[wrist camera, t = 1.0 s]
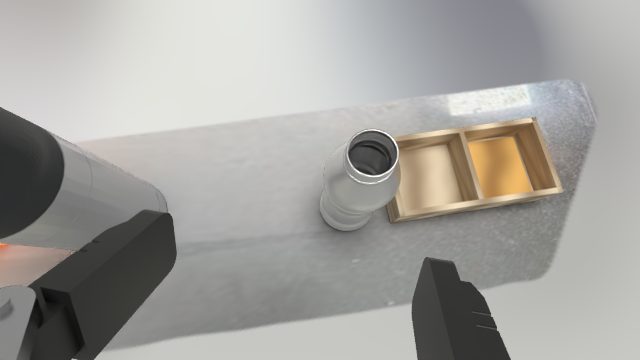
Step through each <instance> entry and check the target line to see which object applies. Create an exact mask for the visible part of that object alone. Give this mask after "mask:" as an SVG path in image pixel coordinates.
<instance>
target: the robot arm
mask: <svg viewBox="0 0 640 360" xmlns="http://www.w3.org/2000/svg"><path fill="white" fill-rule="evenodd" d="M0 244H10V245H24V246H36V247H47V248H59V249H71V250H79V252H78V251H76V252H75V253H73V254H72V255H70V256H69V257H68V258H66V259H65V260H64V261H62V262H61V263H59V264H58V265H57V266H55V267H54V268H52V269H51V270H50V271H48V272H47V273H45V274H44V275H43V276H41V277H40V278H39V279H37V280H36V281H34V282H33V283H32V284H30V285H29V286H27V287H26V286H9V287H3V288H0V360H71V359H72V358H73V359H77V360H94V359H95V358H96V356H97V355H98V354H99V353H100V352H101V351H102V350H103V348H104V347H105V346H106V345H107V344H108V343H109V342H110V340H111V339H112V338H113V337H114V336H115V335H116V333H117V332H118V331H119V330H120V329H121V328H122V327H123V325H124V324H125V323H126V322H127V321H128V320H129V318H130V317H131V316H132V315H133V314H134V313H135V312H136V310H137V309H138V308H139V307H140V306H141V305H142V303H143V302H144V301H145V300H146V299H147V298H148V297H149V295H150V294H151V293H152V292H153V291H154V290H155V288H156V287H157V286H158V285H159V284H160V283H161V282H162V280H163V279H164V278H165V277H166V276H167V275H168V273H169V272H170V271H171V270H172V268H173V266H174V263H175V260H176V254H177V252H176V243H175V235H174V226H173V219H172V216H171V215H170V214H169V213H167V206H166V202H165V200H164V197H163V196H162V194H161V193H160V191H159V190H157V189H156V188H155V187H154V186H152V185H150V184H148V183H146V182H144V181H142V180H141V179H139V178H137V177H135V176H133V175H131V174H130V173H128V172H126V171H124V170H122V169H120V168H118V167H116V166H114V165H112V164H110V163H109V162H107V161H105V160H103V159H101V158H99V157H97V156H95V155H93V154H91V153H89V152H88V151H86V150H84V149H82V148H80V147H78V146H76V145H74V144H72V143H70V142H68V141H66V140H64V139H62V138H60V137H59V136H57V135H55V134H53V133H51V132H49V131H47V130H45V129H43V128H41V127H39V126H37V125H35V124H33V123H31V122H29V121H27V120H25V119H23V118H21V117H19V116H17V115H15V114H13V113H11V112H9V111H7V110H5V109H3V108H1V107H0ZM412 321H413V328H414V336H415V342H416V350H417V357H418V360H511V359H510V357H509V355H508V352H507V350H506V347H505V345H504V343H503V340H502V338H501V336H500V333H499V331H497V326H496V324H495V322H494V319H493V317H491V313H490V310H489V308H488V305H487V303H486V301H485V298H484V297H483V296H482V295H481V293H480V292H479V291H478V290H477V289H476V288H475V287H474V286H473V285H472V283H470V282H465V281H460V278H459V275H458V272H457V269H456V267H455V264H454V263H453V262H452V261H447V260H441V259H435V258H429V257H426V258H425V259H424V261H423V265H422V268H421V272H420V275H419V278H418V282H417V285H416V289H415V292H414V296H413V301H412Z"/></svg>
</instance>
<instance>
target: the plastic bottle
mask: <svg viewBox="0 0 640 360" xmlns="http://www.w3.org/2000/svg"><path fill="white" fill-rule="evenodd" d="M398 159H399V148H398V145H397V143H396V141H395V140H394V139H393V137H392V136H391V135H389V134H388V133H386V132H384V131H382V130H378V129H366V130H363V131H360V132H358V133H357V134H355V135H354V136H353V137H352V138H351V139H350V141H348V142H346V143H344V144H342V145H341V146H340V147H338V148H337V149H336V150H335V151H334V152H333V153H332V154H331V155H330V157H329V158H328V160H327V162H326V165H325V168H324V184H325V190H324V191H323V193H322V195H321V198H320V204H319V205H320V212H321V215H322V217H323V218H324V220H325V221H326V222H327V223H328V224H329V225H330V226H331V227H333V228H335V229H338V230H341V231H353V230H356V229H359V228H361V227H363V226H364V225H365V224H366V223H367V222H368V221H369V220H370V219H371V217H372V215H373V212H374V211H375V210H378V209H379V208H381V207H383V206H385V205H386V204H387V203H389V202H390V201H391V200H392V199H393V197H394V196H395V195H396V193H397V191H398V189H399V186H400V182H401V169H400V164H399V161H398Z"/></svg>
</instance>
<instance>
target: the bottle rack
mask: <svg viewBox="0 0 640 360" xmlns="http://www.w3.org/2000/svg"><path fill="white" fill-rule="evenodd" d="M393 139H394V140H395V141H396V143H397V145H398V148H399V159H398V161H399V164H400V169H401V182H400V186H399V189H398V191H397V193H396V195H395V196H394V197H393V199H392V200H391V201H390V202H389V203H387V204H386V207H387V211H388V216H389V220H390V223H396V222H402V221H408V220H415V219H421V218H428V217H434V216H441V215H447V214H453V213H460V212H466V211H473V210H479V209H486V208H492V207H498V206H505V205H511V204H518V203H524V202H530V201H536V200H539V199H542V198H545V197H548V196H552V195H555V194H558V193H561V192H564V191H563V189H562V186H561V183H560V181H559V178H558V175H557V173H556V170H555V167H554V165H553V162H552V159H551V157H550V154H549V151H548V149H547V146H546V143H545V141H544V138H543V135H542V133H541V130H540V127H539V125H538V122H537V119H536V117H533V118H526V119H519V120H512V121H504V122H497V123H490V124H483V125H476V126H469V127H462V128H454V129H447V130H440V131H433V132H426V133H419V134H411V135H404V136H397V137H393Z"/></svg>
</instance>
